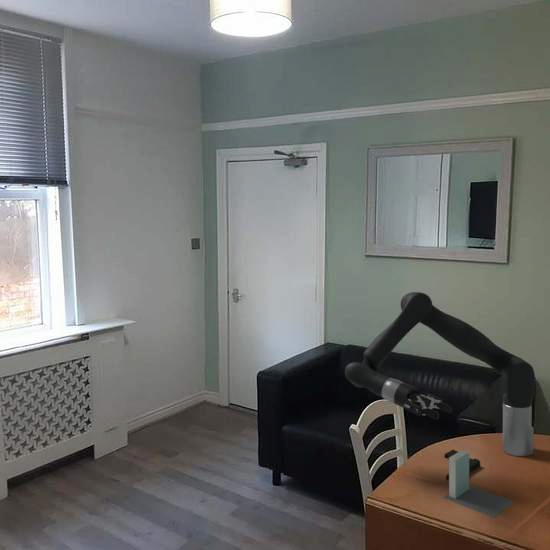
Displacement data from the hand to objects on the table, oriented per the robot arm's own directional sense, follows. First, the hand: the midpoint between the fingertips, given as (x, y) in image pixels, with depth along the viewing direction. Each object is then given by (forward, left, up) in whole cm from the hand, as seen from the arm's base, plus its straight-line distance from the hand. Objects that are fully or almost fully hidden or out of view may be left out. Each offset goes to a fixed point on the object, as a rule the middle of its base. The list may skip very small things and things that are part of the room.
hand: (444, 413), depth 172 cm
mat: (-8, +8, -24) cm, 26 cm away
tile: (-3, +4, -23) cm, 24 cm away
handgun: (-5, -13, -25) cm, 28 cm away
